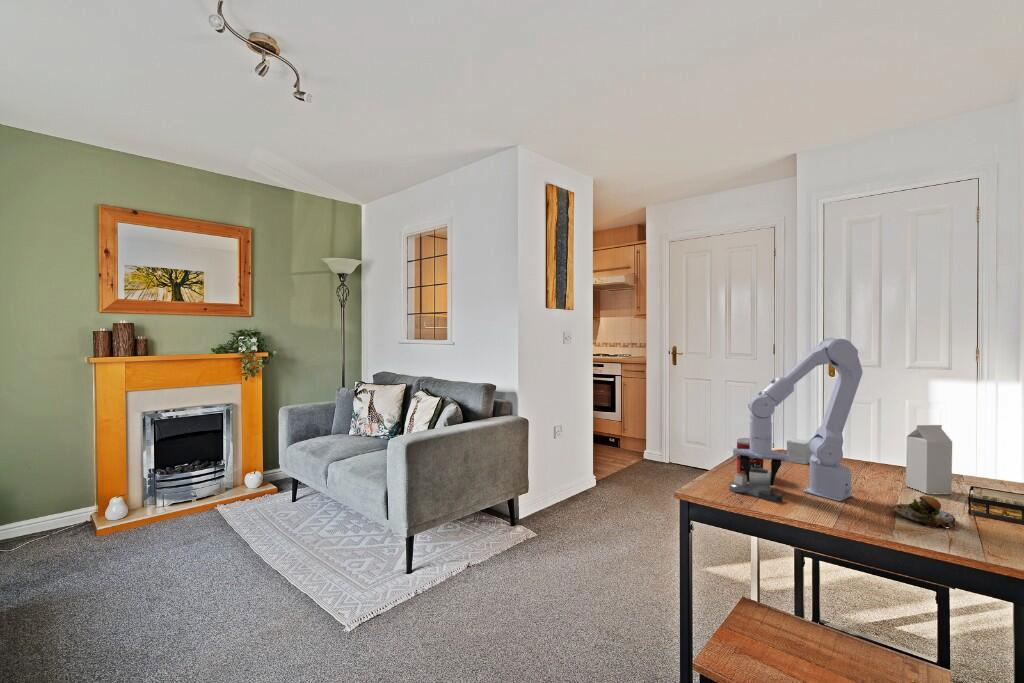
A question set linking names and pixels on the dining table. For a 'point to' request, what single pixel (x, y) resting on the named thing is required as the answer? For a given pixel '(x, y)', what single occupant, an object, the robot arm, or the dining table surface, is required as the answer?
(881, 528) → the dining table surface
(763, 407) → the robot arm
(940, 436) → the milk carton
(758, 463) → the canned food
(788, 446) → the skincare box
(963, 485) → the dining table surface
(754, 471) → the socket
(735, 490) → the ratchet
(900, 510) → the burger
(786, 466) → the dining table surface
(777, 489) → the dining table surface
